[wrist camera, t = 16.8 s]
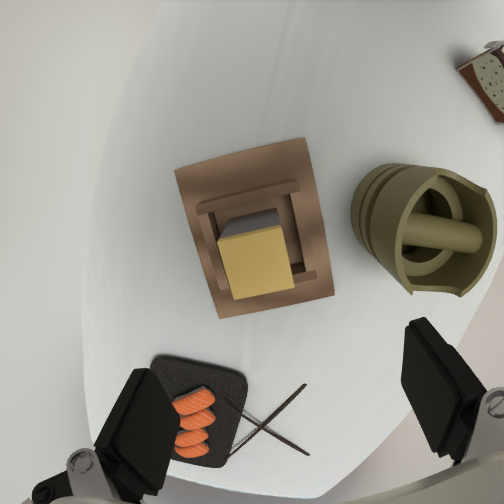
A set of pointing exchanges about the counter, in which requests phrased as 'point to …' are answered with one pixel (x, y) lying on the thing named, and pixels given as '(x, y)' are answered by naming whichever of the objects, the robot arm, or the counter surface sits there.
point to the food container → (487, 79)
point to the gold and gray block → (255, 254)
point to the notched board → (255, 200)
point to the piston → (425, 226)
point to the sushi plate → (208, 410)
